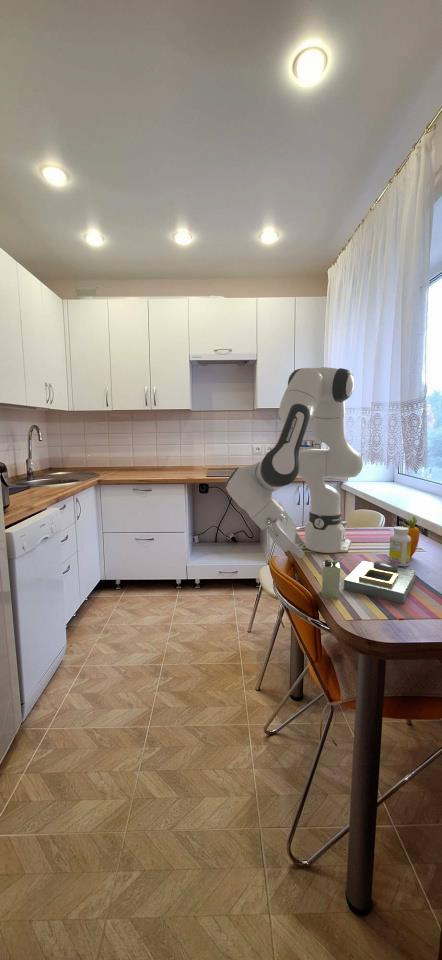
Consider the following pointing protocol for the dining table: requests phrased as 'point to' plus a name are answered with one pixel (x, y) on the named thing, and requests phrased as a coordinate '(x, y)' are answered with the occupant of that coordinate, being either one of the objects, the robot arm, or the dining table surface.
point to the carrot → (413, 535)
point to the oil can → (331, 579)
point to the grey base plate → (381, 580)
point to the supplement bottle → (400, 546)
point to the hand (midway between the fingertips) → (303, 550)
